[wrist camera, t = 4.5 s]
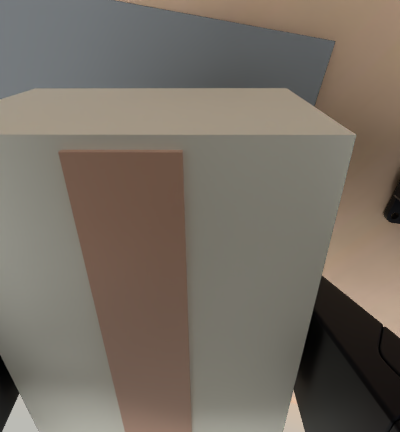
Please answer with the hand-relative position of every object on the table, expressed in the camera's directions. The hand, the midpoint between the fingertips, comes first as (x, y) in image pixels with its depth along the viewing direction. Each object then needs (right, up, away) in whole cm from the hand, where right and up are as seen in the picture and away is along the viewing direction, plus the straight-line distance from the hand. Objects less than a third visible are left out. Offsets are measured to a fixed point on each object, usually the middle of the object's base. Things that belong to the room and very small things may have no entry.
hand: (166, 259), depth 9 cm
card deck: (0, 0, +1) cm, 1 cm away
